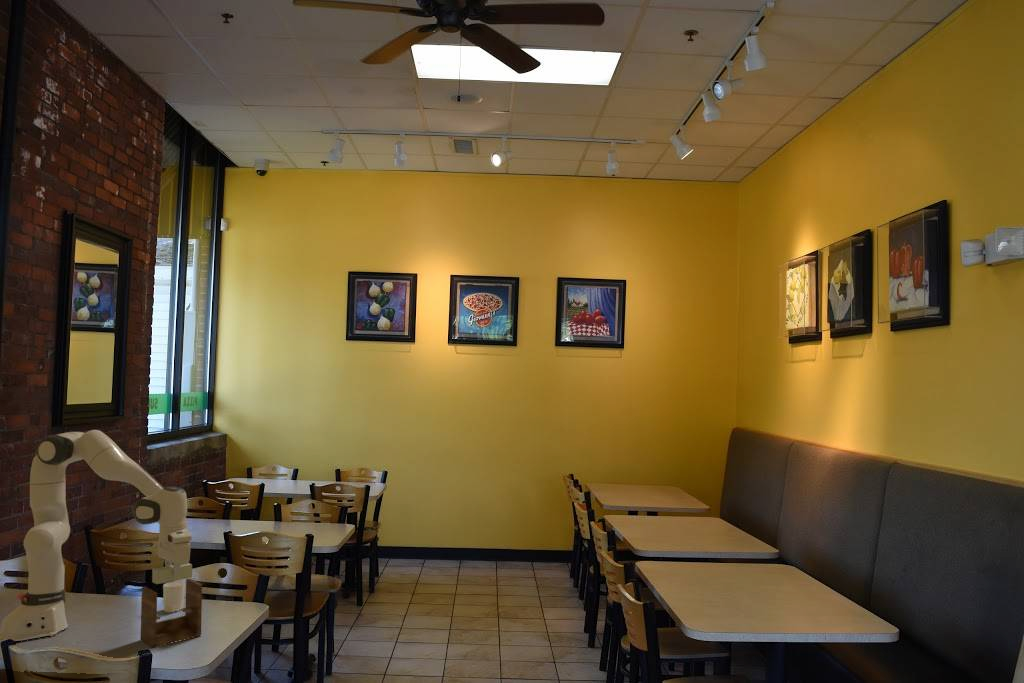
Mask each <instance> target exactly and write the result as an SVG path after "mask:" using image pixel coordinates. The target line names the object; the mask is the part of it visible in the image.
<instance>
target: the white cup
mask: <svg viewBox="0 0 1024 683" xmlns="http://www.w3.org/2000/svg"><path fill="white" fill-rule="evenodd" d="M162 590H163V593H162V594H163V611H164V613H176V612H175V611H178V612H180V611H179V610H181V609H183V608H184V603H185V595H186V581H181V580H176V581H171V582H166V583H163V585H162ZM181 611H182V610H181Z"/></svg>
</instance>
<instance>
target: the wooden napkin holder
mask: <svg viewBox="0 0 1024 683" xmlns="http://www.w3.org/2000/svg"><path fill="white" fill-rule="evenodd" d="M202 602H203V584H202V583H200V582H198V581H196V580H194V579H192V578H187V579H185V607H183V609H182V610H181V611H182V613H184V612H185V615H181V616H176V617H173V618H167V619H164V620H160V619H161V615H160V614H158V613H157V612H158V592H156V591H155V590H153V589H151V588H149V587H147V586H142V587H141V605H140V608H141V609H140V641H141V640H142V641H141V642H143V643H144V644H146V645H147V646H148V647H150V648H151V649H154V647H155V648H157V647H156V646H159V647H161V646H160V645H163V646H165V645H164V644H167V645H169V644H168V643H171V642H175V641H179V640H184V639H188V638H192V637H196V636H200V635H201V636H202V612H203V610H202V609H203V608H202V607H203V606H202ZM157 620H159V621H157ZM201 636H200V637H201ZM196 638H197V637H196ZM192 639H193V638H192ZM188 640H189V639H188ZM184 641H185V640H184ZM175 643H176V642H175ZM171 644H172V643H171Z"/></svg>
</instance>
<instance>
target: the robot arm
mask: <svg viewBox="0 0 1024 683" xmlns="http://www.w3.org/2000/svg"><path fill="white" fill-rule="evenodd" d="M82 461H85V462H86V464H87V465H88V466H89V468H90V469H92V470H93V472H94V474H96V475H98V477H100V478H102V479H103V480H107V481H114V482H115V481H116V482H123V483H126V484H129V485H132V486H134V487H135V488H137V490H139V491H140V492H141V493H142V494H143V495H144V496H145V497H142V498H140V499H138V500H136V501H135V503H134V505H133V508H132V514H133V518H134V520H135V522H136V523H138V524H140V525H152V524H155V523H156V524H157V523H158V524H159V529H158V530H159V532H158V533H159V534H158V535H159V537H158V540H157V549H156V550H157V551H156V553H157V556H158V557H159V558H161V559H164V564H165V567H166V566H171V565H173V566H174V568H173V570H172V575H174V576H176V575H179V569H180V566H181V565H185V564H188V563H190V558H191V541H192V538H193V535H192V533H191V532H190V531H189V528H188V522H187V515H188V498H187V492H186V490H185V489H184V488H182V487H179V486H163V485H162V484H161V483H160V482H159V481H158V480H157V479H156V478H155V477H154V476H152V475H151V474H150V473H149V472H148V471H147V470H146V469H145V468H144V467H142V466H141V465H140V464H139V463H138V462H136V461H134V460H133V459H131V458H130V457H129V456H128V455H127V454H126V453H125V451H123V450H122V449H121V448H120V447H119V445H118V444H117V443H115V441H113V439H111V438H110V437H109V436H108V435H107V434H105V433H104V432H103V431H101V430H99V429H92V430H88V431H68V432H66V431H65V432H64V433H58V434H52V435H49V436H46V437H44V438H42V439H41V440H40V441H39V442H38V444H37V447H36V455H35V456H34V457H33V459H32V463H31V467H30V474H29V475H30V476H29V507H30V508H31V512H32V516H33V521H34V522H33V523H34V525H33V527H31V528H30V529H29V530H28V531H27V532H26V534H25V537H24V538H23V548H24V550H25V554H26V561H27V568H28V583H27V585H28V586H27V588H28V589H27V592H26V593H25V594H24V593H22V592H21V593H18V595H17V599H19V600H20V605H19V606H17V607H16V608H15V609H13V610H12V611H11V612H10V613H9V614H7V615H6V616H5V617H4V618H3V619H2V623H1V626H0V627H1V628H0V631H1V632H0V641H1V640H4V639H13V638H14V640H20V639H26V638H32V637H41V636H47V635H54V634H56V633H57V632H59V631H61V630H64V629H65V628H67V627H68V628H69V624H68V621H67V618H66V617H67V615H66V610H65V603H66V596H67V594H66V593H67V592H66V587H65V571H66V570H65V569H66V568H65V567H66V566H65V564H64V560H63V554H62V545H63V544H64V543H66V541H68V539H69V537H70V534H71V526H70V521H69V514H68V508H67V502H66V500H67V499H66V497H67V496H66V493H67V492H66V490H67V489H66V488H67V487H66V486H67V484H66V481H67V480H66V472H67V471H66V470H67V467H68V465H69V464H72V463H73V464H76V463H79V462H82ZM68 628H67V629H68ZM65 630H66V629H65ZM65 630H64V631H65ZM61 632H62V631H61ZM59 633H60V632H59ZM56 635H57V634H56Z"/></svg>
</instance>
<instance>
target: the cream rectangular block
mask: <svg viewBox="0 0 1024 683" xmlns="http://www.w3.org/2000/svg"><path fill="white" fill-rule="evenodd" d="M173 568H174V566H173V564H172V565H171V566H166V565H165V566H162V567H156V568H152V571H151V573H152V577H151V580H152V581H151V582H152V583H153V584H154V585H159V584H166V583H169V582H177V581H182V580H186V579H189V578H190V579H192V578H193V564H192V563H190V562H188V564H185V565H181V566H180V569H179V575H176V576H174V575H172V570H173Z"/></svg>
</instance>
